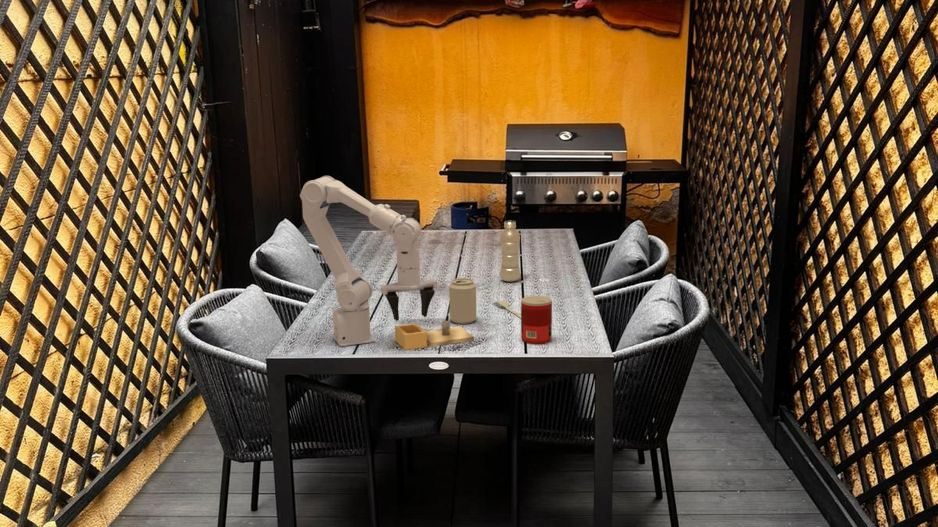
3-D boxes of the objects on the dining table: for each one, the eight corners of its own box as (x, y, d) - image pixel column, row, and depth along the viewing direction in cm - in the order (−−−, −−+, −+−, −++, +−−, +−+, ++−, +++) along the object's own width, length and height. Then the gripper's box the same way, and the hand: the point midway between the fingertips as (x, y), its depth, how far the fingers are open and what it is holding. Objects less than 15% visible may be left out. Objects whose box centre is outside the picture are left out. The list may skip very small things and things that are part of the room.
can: (461, 315, 254) (460, 275, 251) (481, 320, 249) (481, 279, 246) (444, 321, 248) (443, 280, 245) (464, 326, 244) (464, 284, 241)
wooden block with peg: (431, 346, 227) (430, 330, 226) (418, 335, 236) (418, 319, 235) (474, 340, 231) (473, 324, 230) (459, 330, 240) (459, 314, 239)
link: (405, 350, 225) (405, 335, 224) (395, 340, 232) (394, 326, 231) (426, 346, 227) (426, 332, 226) (416, 337, 234) (415, 323, 233)
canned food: (556, 342, 229) (556, 302, 226) (527, 345, 226) (527, 304, 224) (545, 334, 236) (545, 294, 233) (517, 337, 234) (517, 297, 231)
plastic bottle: (498, 279, 294) (498, 220, 290) (518, 278, 295) (518, 219, 290) (501, 284, 288) (500, 223, 284) (521, 283, 289) (521, 223, 284)
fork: (523, 329, 248) (523, 320, 248) (489, 304, 266) (489, 295, 265) (531, 328, 250) (532, 319, 249) (497, 303, 267) (498, 294, 266)
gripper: (385, 273, 219) (388, 325, 222) (440, 266, 224) (442, 318, 227) (377, 267, 225) (380, 318, 228) (431, 261, 230) (432, 311, 233)
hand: (410, 317), depth 228 cm, fingers open, 7 cm apart
